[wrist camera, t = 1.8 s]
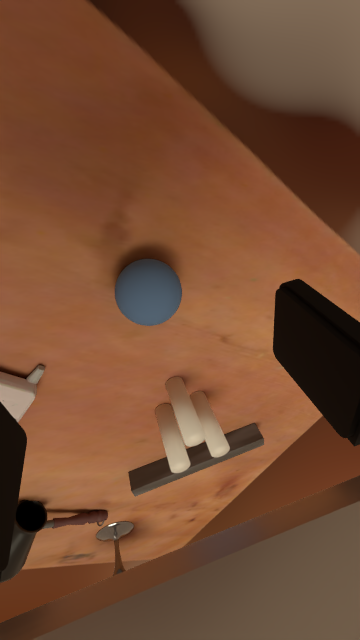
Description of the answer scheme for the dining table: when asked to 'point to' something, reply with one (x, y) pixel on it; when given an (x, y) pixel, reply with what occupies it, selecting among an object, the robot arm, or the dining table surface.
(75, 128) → the dining table surface
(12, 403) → the mobile phone
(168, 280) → the ball
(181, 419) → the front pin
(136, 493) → the back wall
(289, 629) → the robot arm
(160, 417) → the pin
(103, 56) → the dining table surface
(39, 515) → the coffee pot
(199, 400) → the pin
